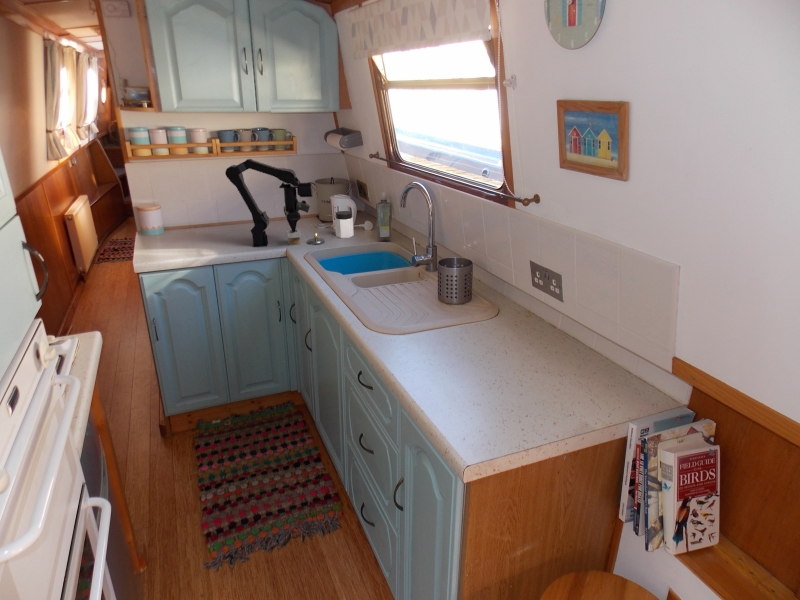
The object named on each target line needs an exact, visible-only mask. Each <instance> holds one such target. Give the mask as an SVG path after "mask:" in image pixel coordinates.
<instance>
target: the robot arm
mask: <svg viewBox="0 0 800 600" xmlns="http://www.w3.org/2000/svg"><path fill="white" fill-rule="evenodd" d="M248 170H254V171H255V172H256V171H257V172H259V173H262V174H266V175H269V176H272V177H274V178H276V179H277V180H279V181H281V182H282V183H280V185H279V187H278V188H279V189H283V196H284V206H283V207H282V209H283V213H284V216H285V217H286V221H287V223H288V225H289V226H290V230H292V231H293V232H295V230H296V229H297V223H298V221H300V220H301V213H300V211H302V212H305V213H307V214H308V213H309V210H310V207H311V206H310V205H309V204H308V203H307V201H306V200H301V201H299V200H298V198H297V197H298V196H299V198H313V196H314V195H313V193H314V191H313V184H312V181H308V182H301V181H300V180H299V178H298V177H297V174H296V171H295V170H293V169H291V168H283V167H275V166H272V165H269V164H266V163H263V162H260V161H257V160H254V159H252V158H248V159H246V160H245V161H242V162H241V163H239V164H237V165H236V164H233V165H232V164H231V165H230V166H228V167H227V168H226V169H225V172H224V174H225V176H226V178H227V179H228V180H229V182H230V183H231V184H232V185H234V186H235V187H236V189H237V191H238V192H239V194H240V196H241V198H242V200H243V201H244V203H245V205H246V207H247V208H248V210H249V212H250V213H251V218H252V222H253V224H254V225H253V227H252V228H251V229H250V233H251V235H252V236H251V237H252V247H254V248H255V247H256V248H257V247H266V246H268V245H269V241H268V240H269V239H268V234H267V231H266V229H267V228H268V227H269V225H270V217H269V216H268V214H267V212H266V210H264V211H263V210H261V209H260V207H259V206H258V204H257V202H256V201H255V199H254V196H253V195H252V194H251V191H250V189H249V188H248V186H247V185H246V182H245V179H244V174H243V173H244V172H246V171H248ZM297 195H298V196H297Z"/></svg>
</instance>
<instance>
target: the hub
mask: <svg viewBox="0 0 800 600" xmlns="http://www.w3.org/2000/svg"><path fill="white" fill-rule="evenodd" d="M313 236H314V238H308V239H307V244H308V245H311V246H318V245H322V244H325V242H326V240H325V238H321V237H319V235H318V232H314V233H313Z"/></svg>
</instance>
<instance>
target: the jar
mask: <svg viewBox="0 0 800 600" xmlns="http://www.w3.org/2000/svg"><path fill="white" fill-rule="evenodd" d="M334 222H335V223H334V226H335V237H337V238H339V239H347V238H348V239H349V238H352V237H353V236H354V217H353V212H352V211H349V210H341V211H340V210H339V211H336V212H335V218H334Z"/></svg>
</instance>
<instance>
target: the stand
mask: <svg viewBox="0 0 800 600" xmlns="http://www.w3.org/2000/svg"><path fill="white" fill-rule="evenodd" d="M287 242H288V243H287V244H288V246H295V245H301V237H298V238H287Z"/></svg>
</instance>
